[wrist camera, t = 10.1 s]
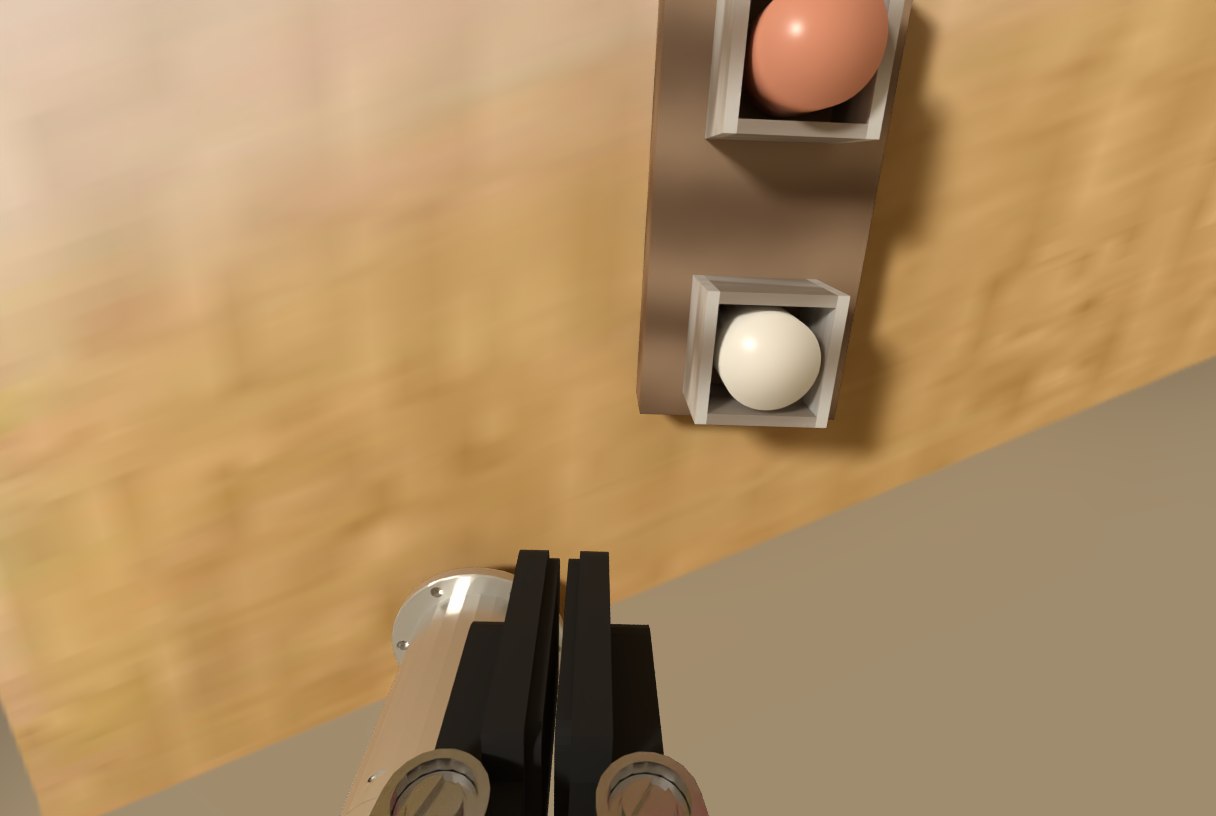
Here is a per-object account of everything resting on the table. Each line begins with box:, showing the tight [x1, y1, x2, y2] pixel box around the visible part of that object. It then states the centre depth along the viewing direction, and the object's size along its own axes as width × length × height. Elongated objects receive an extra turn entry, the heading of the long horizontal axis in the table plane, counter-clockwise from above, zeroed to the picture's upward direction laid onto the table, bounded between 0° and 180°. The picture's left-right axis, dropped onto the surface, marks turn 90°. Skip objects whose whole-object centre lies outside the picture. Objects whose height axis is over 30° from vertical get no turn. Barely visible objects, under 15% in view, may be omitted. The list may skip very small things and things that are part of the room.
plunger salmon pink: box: [741, 0, 888, 118], centre depth 27 cm, size 5×5×5 cm
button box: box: [636, 0, 913, 428], centre depth 32 cm, size 24×12×9 cm, turn 178°
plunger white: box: [713, 304, 821, 410], centre depth 33 cm, size 5×5×5 cm
